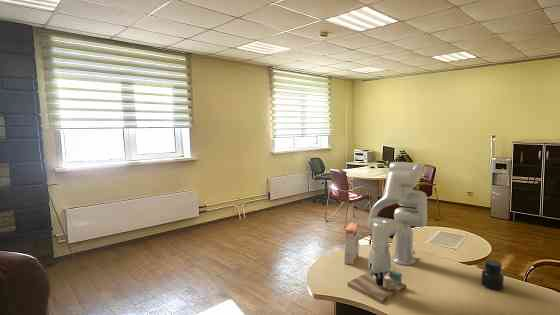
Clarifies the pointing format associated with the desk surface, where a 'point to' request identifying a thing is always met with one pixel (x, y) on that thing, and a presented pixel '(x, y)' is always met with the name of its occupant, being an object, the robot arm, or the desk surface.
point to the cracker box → (351, 243)
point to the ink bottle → (492, 275)
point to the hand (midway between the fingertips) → (379, 284)
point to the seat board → (372, 290)
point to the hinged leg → (387, 282)
